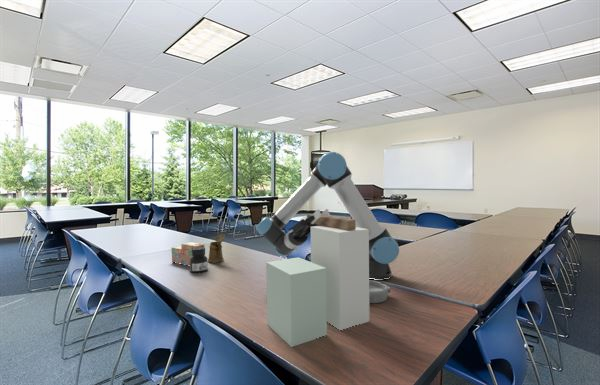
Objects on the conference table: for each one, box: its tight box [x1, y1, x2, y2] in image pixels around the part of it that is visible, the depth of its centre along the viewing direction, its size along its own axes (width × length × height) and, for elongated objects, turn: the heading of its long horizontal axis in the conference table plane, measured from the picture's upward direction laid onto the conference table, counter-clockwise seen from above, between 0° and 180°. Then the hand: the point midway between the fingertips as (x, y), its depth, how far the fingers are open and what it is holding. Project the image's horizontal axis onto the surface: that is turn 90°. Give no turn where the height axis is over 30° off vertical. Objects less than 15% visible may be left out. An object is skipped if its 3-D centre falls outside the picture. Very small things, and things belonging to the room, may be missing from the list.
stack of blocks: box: [171, 241, 205, 265], centre depth 172 cm, size 21×6×12 cm, turn 58°
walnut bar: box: [306, 213, 357, 230], centre depth 104 cm, size 24×3×3 cm, turn 31°
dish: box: [369, 280, 392, 304], centre depth 118 cm, size 14×14×5 cm
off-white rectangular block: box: [310, 226, 370, 331], centre depth 100 cm, size 16×12×30 cm
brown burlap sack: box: [207, 232, 226, 264], centre depth 175 cm, size 9×14×18 cm, turn 41°
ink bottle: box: [189, 246, 209, 274], centre depth 158 cm, size 10×9×12 cm
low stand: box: [265, 257, 328, 348], centre depth 92 cm, size 16×12×20 cm
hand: (323, 212), depth 107 cm, fingers closed on walnut bar, 3 cm apart
